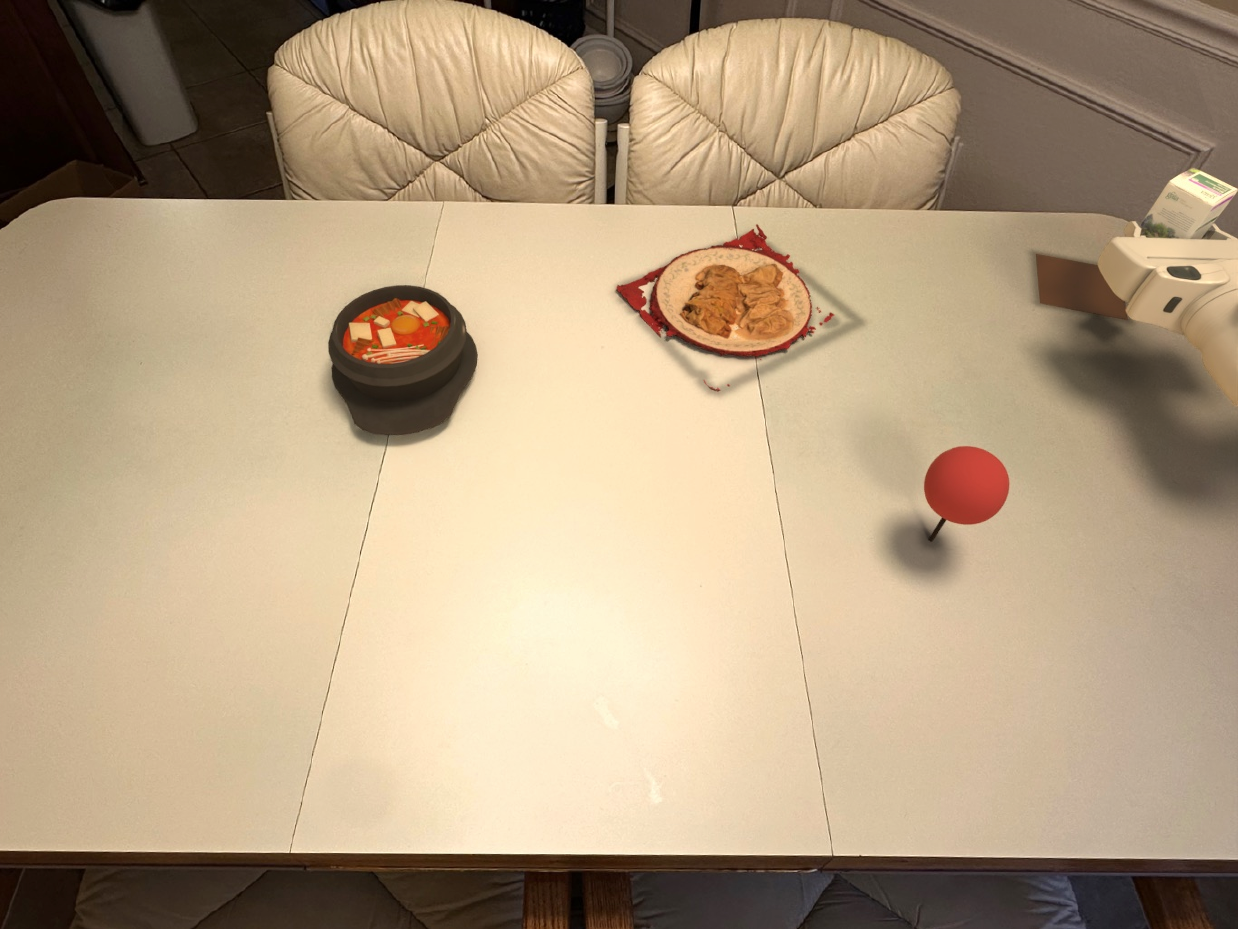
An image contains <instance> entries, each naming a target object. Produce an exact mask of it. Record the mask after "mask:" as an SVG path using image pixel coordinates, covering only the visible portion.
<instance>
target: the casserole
mask: <svg viewBox="0 0 1238 929" xmlns="http://www.w3.org/2000/svg"><path fill="white" fill-rule="evenodd" d="M327 345H328V346H327V348H328V349H327V350H328V351H327V352H328V355H329V357H330V360H331V362H332V365H331V379H332V384H333V386H334V388H335V390H336V391H337V392H338V394H339V396H340V397H341V398H342V400H343V401H344V403H345V404H346V405H347V408H348V410H349V413H350V416H351V418H352V421H353V423H354V425H355V426H356V427H357V428H359V429H360V430H361V431H364V432H367V433H370V434H373V435H380V436H405V435H412V434H417V433H421V432H424V431H428V430H430V429H434V428H435V427H437V426H439V425H441V424H444V422H446V421H447V420H448V419H449V418H450V417H451V416H452V414H453V412H454V410H455V407H456V405H457V402H458V401H459V398H460V395H461V394H462V392H463V391H464V389H465V388H466V386H467V385H468V384H469V382H470V381H471V379H472V378H473V376H474V374H475V371H476V369H477V365H478V356H479V354H478V349H477V348H478V347H477V344H476V343H475V340H474V339H473V337H472V335H471V334H470V333H469V332H468V330H467V325H466V320H465V318H464V316H463V315H462V313H461V312H460V310H458V309H457V308H456V307H455V305H453V304H451V303H450V302H449V300H448V299H447V298H446V297H444V296H443V295H442V294H440V293H439V292H436V291H435V290H432V289H430V288H426V287H423V286H418V285H409V284H401V285H400V284H398V285H397V284H396V285H389V286H384V287H380V288H376V289H373V290H370V291H368V292H366V293H363V294H361V295H359V296H358V297H356V298H354V299H353V300H351V301H349V303H348V304H346V305H345V306H344V307H343V308H342V310H341V311H340V312H339V313H338V314H337V316H336V318H335V320H334V322H333V326H332V329H331V332H330V334H329V338H328V342H327Z"/></svg>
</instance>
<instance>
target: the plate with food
mask: <svg viewBox="0 0 1238 929" xmlns="http://www.w3.org/2000/svg"><path fill="white" fill-rule="evenodd" d="M755 227H756V229H757V231H758V234H757V233H756V232H755V228H752V229H750V230H749V231H748V232H747V233H745V234H742V235H741V236H740V237H739V238H735V239H732V240H730V241H725V242H724V243H723V245H722V244H717V245H711V246H710V247H707V248H706V247H705V248H698V249H693V250H689V251H687V252H685V253H681V254H679V255H678V256H675V257H674V258H672V259H671V261H670V262H668V263H667V264H666V265H664V266H661V267H659V268H657V269H655V270H652V271H649V272H648V273H647V274H645V275H644V276H643V277H641V278H638V279H636V280H633V281H631V282H629V283H625V284H621V285H619V284H617V286H616V290H617V292H618V293H620V294H621V295H622V297H623V299H626V301H627V302H628V303H629V305H630V306H631V307H632V308H633V309H634V310H637V311H639V314H640V315H641V319H642V320H644V322H645V323H647V325H648V326H649V327H650V328H651V329H652V330H653V332H655V333H656V334H658V336H659V337H660V338H661V337H662V334H664V333H665V335H666V337H669V338H670V337H672V336H676V337H678V338H680V339H682V340H683V341H684V342H685V343H688V344H691V345H693V346H695V347H698V348H700V349H703V350H705V351H708V352H712V353H716V354H718V355H720V356H721V357H722V356H726V355H729V356H736V357H743V358H744V357H745V358H747V357H755V358H757V357H759V356H762V355H768V354H770V353H773V352H777V351H780V350H789V349H790V347H791V345H792V344H793V342H795V341H797V340H798V339H799V337H800V336H803V338H807V333H808V332H810V333H811V334H815V330H817V328H816V327H815V326H811V325H809V326H808V324H809V321H810V320H811V319H812V316H813V315H812V313H813V310H812V309H813V305H812V303H813V302H812V300H811V299H810V298H811V295H810V294H811V293H810V291H809V289H808V287H807V284H806V282H805V280H803V279H802V278H801V277H800V275H798V274H800V270H799V269H798V268H794V263H793V261H790V262H788V260H789V259H790V258H791V255H790V254H788V253H787V254H786V255H783V254H782V253H780V252H775V250H773V249H772V248H771V247H770V246H769V245H768V244H767V242H766V240H767V239H768V236H767V235H766V234H765V233H764V231H763V229H761V228H760V226H759V224H758V223H756V224H755ZM654 281H655V282H654ZM651 282H654V285H653V286H652V292H651V294H650V296H651V297H650V302H649V305H650V306H649V310H650V312H651V313H648V311H647V310H646V309H642V308H643V307H645V306H646V304H647V300H648V299H647V298H646V296H644V295H643V294H644V293H645V291H644V290H642V289H641V288H640V287H643V286H646V285H648V284H649V283H651ZM815 310H816V311H818V312H817V313H818V314H821V313H822V310H821V309H820V307H819V306H816V307H815ZM828 314H829V315H827V316H826V317H825V318H824V320H823V322H819V323H818V324H819V326H821V327H822V326H823V324H824V323H828V322H829V321H830V320H832V318H833V317H834V316H835V313H833V312H829V313H828ZM664 327H665V330H664V332H663V329H664ZM734 327H735V328H734ZM736 328H737V329H736ZM666 329H668V330H666ZM735 336H736V337H735ZM803 346H804V345H803ZM759 361H762V358H759ZM703 382H704V383H705V384H706V386H708V387H709V388H710V389H713V390H714V391H715V390H716V391H721V389H720V388H719V387H716V389H715V388H714V386H709V385H708V384H707V382H706V380H705V379H703ZM726 386H727V387H730V383H727V385H726Z"/></svg>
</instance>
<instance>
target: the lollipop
mask: <svg viewBox="0 0 1238 929" xmlns="http://www.w3.org/2000/svg"><path fill="white" fill-rule="evenodd" d="M923 492H924V496H925V499H926V500H925V501H926V502H927V504H928V506H929V507H930V508H931V510H932V511H933V512H934V513H935V514H936V515H938V516H939V517H941V518H940V520H939V521H938V523H937V525H935V527H934V529H933V531H932V532H931V534H930V536H929V537H928V542H929V543H932V542H934V540H935V538H936V537H937V536H938V535H939V533H940V531H941V529H942V528H943V526H944V525H945V523H946V522H947V521H948V522H949V523H953V524H958V525H965V526H966V525H967V526H970V525H971V526H972V525H977V524H983V523H984V522H986V521H988V520H990V519H992V518H994V517H995V516H996V515H997V514H998V513H999V512H1000V511H1001V510H1002V508H1003V506H1004V505H1005V503H1006V501H1007V499H1008V497H1009V493H1010V477H1009V473H1008V471H1007V468H1006V467H1005V465H1004V463H1003V462H1002V461H1001V460H1000V459H999V458H998V457H997V456H996V455H994V454H993V453H991V452H990V451H988V450H985V449H983V448H980V447H976V446H972V445H971V446H970V445H961V446H955V447H952V448H948V449H946V450H945V451H943V452H942V453H939V455H937V456H936V457H935V459H934V460H933V461H932V462H931V464H930V465H929V466H928V468H927V470H926V473H925V476H924V480H923Z"/></svg>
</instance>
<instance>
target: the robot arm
mask: <svg viewBox="0 0 1238 929" xmlns="http://www.w3.org/2000/svg"><path fill="white" fill-rule="evenodd" d="M1142 221H1143V220H1142ZM1142 221H1141V220H1140V221H1137V220H1129V222H1128V223H1127V224H1126V226H1125V227H1124V229H1123V235H1124V236H1114V237H1112V239H1111V240H1110V241H1109V242H1108V243H1107V245H1106V246H1105V247H1104V249H1103V250H1102V252H1101V254H1100V255H1099V258H1098V259H1097V265H1098V267H1099V270H1100V272H1101V274H1102V275H1103V277H1104V279H1105V280H1106V282H1107V283H1108V285H1109V286H1110V288H1111V289H1112V291H1113V292H1114V293H1115V294H1116V295H1117V296H1118V297H1119V298H1120V299H1122V300H1123V301H1125V303H1128V304H1127V305H1126V313H1127V316H1128V318H1130V319H1131V320H1133V321H1136V322H1140V323H1144V324H1147V325H1153V326H1157V327H1158V328H1159V327H1160V328H1161V329H1166V330H1168V331H1171V332H1173V333H1175V334H1178V335H1182V336H1185V338H1186V340H1187V341H1188V343H1189V344H1190V345H1191V346H1193V347H1194V348H1195V349H1197V350H1199V352H1200V355H1201V361H1202V363H1203V364H1202V365H1203V366H1204V368H1205V369H1206V371H1207V372H1208V374H1209V375H1210V377H1211V378H1212V380H1213V381H1214V382H1215V384H1216V385H1217V386H1218V387H1219V389H1220V390H1221V392H1222V393H1223V394H1224V395H1225V396H1226V397H1227V399H1228V400H1230V402H1231V403H1232V404H1233V405H1234V406H1235V407H1236V408H1238V238H1237V237H1235V236H1233V235H1232V234H1229V233H1227V232H1226V231H1223V230H1221V229H1220V228H1219V227H1218V225H1217V224H1216V223H1213V224H1212V225H1211V227H1210V228H1209V229H1208V231H1207V232H1206V233H1205V234H1204V236H1203V237H1202V238H1201V239H1175V238H1146V236H1143V234H1144V233H1145V232H1146V231H1147V229H1148V228H1147V226H1146V225H1144V222H1142Z"/></svg>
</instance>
